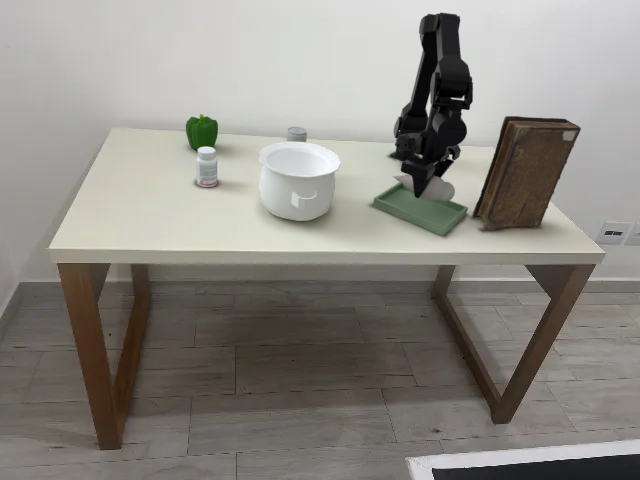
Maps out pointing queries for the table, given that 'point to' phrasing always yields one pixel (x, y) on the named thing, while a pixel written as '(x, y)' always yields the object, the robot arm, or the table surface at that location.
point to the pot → (297, 179)
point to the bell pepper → (201, 132)
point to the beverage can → (296, 134)
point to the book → (525, 171)
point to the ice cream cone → (431, 188)
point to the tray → (420, 209)
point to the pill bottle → (206, 167)
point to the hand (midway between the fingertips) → (423, 192)
